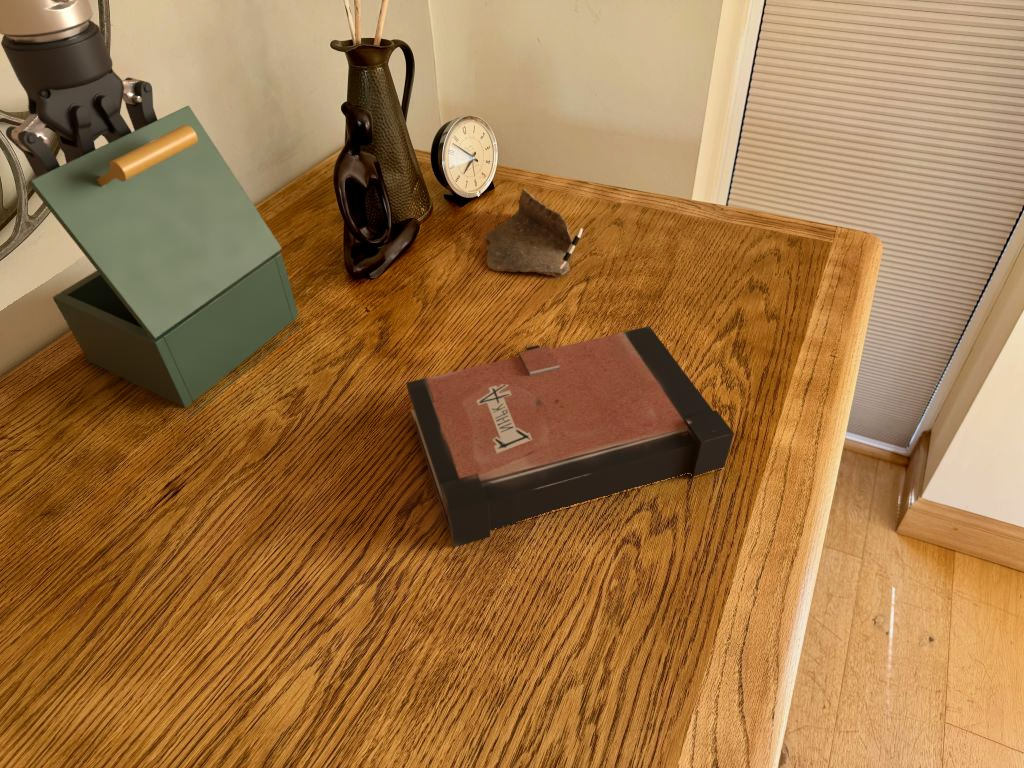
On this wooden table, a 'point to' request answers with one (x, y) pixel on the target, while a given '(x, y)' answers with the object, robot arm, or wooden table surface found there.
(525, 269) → the pottery fragment
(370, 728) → the wooden table surface
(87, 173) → the lid
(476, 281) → the wooden table surface
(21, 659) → the wooden table surface
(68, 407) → the wooden table surface
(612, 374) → the red and black box
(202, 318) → the chest
